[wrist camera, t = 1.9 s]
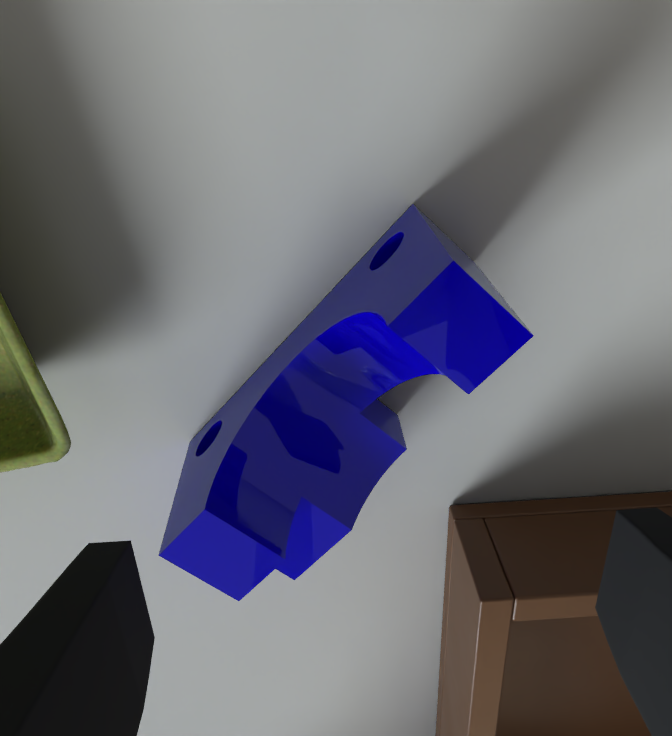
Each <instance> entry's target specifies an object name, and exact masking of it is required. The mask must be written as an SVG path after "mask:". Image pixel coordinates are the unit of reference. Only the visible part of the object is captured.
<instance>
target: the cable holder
mask: <svg viewBox="0 0 672 736" xmlns="http://www.w3.org/2000/svg"><path fill="white" fill-rule="evenodd" d="M532 337H533V334H532V333H531V332H530V331H529V329H528V328H527V327H526V326H525V324H524V323H523V322H522V321H521V319H520V318H519V317H518V316H517V315H516V313H515V312H514V311H513V310H512V308H511V307H510V306H509V305H508V303H507V302H506V301H505V300H504V298H503V297H502V296H501V295H500V293H499V292H498V291H497V290H496V288H495V287H494V286H493V285H492V283H491V282H490V281H489V280H488V278H487V277H486V276H485V275H484V273H483V272H482V271H481V270H480V268H479V267H478V266H477V265H476V263H475V262H474V261H473V260H471V259H470V258H469V257H468V256H467V255H466V254H465V253H464V252H463V251H462V250H461V249H460V248H459V247H458V246H457V245H456V244H455V243H454V242H453V241H452V240H451V239H450V238H448V237H447V236H446V235H445V234H444V233H443V232H442V231H441V230H440V229H439V228H438V227H437V226H436V225H435V224H434V223H433V222H432V221H431V220H430V219H429V218H428V217H427V216H425V215H424V214H423V213H422V212H421V211H420V210H419V209H418V208H417V207H416V206H415V205H414V204H412V205H411V206H410V207H409V208H408V209H407V210H406V212H405V213H404V214H403V215H402V216H401V217H400V218H399V219H398V220H397V221H396V222H395V223H394V224H393V225H392V226H391V228H390V229H389V230H388V231H387V232H386V233H385V234H384V235H383V236H382V237H381V238H380V239H379V240H378V241H377V242H376V244H375V245H374V246H373V247H372V248H371V249H370V250H369V251H368V252H367V253H366V254H365V255H364V256H363V257H362V259H361V260H360V261H359V262H358V263H357V264H356V265H355V266H354V267H353V268H352V269H351V270H350V271H349V272H348V273H347V275H346V276H345V277H344V278H343V279H342V280H341V281H340V282H339V283H338V284H337V285H336V286H335V287H334V288H333V289H332V291H331V292H330V293H329V294H328V295H327V296H326V297H325V298H324V299H323V300H322V301H321V302H320V303H319V304H318V306H317V307H316V308H315V309H314V310H313V311H312V312H311V313H310V314H309V315H308V316H307V317H306V318H305V319H304V320H303V322H302V323H301V324H300V325H299V326H298V327H297V328H296V329H295V330H294V331H293V332H292V333H291V334H290V335H289V336H288V338H287V339H286V340H285V341H284V342H283V343H282V344H281V345H280V346H279V347H278V348H277V349H276V350H275V351H274V352H273V354H272V355H271V356H270V357H269V358H268V359H267V360H266V361H265V362H264V363H263V364H262V365H261V366H260V367H259V369H258V370H257V371H256V372H255V373H254V374H253V375H252V376H251V377H250V378H249V379H248V380H247V381H246V382H245V383H244V385H243V386H242V387H241V388H240V389H239V390H238V391H237V392H236V393H235V394H234V395H233V396H232V397H231V398H230V399H229V401H228V402H227V403H226V404H225V405H224V406H223V407H222V408H221V409H220V410H219V411H218V412H217V413H216V414H215V416H214V417H213V418H212V419H211V420H210V421H209V422H208V423H207V424H206V425H205V426H204V427H203V428H202V429H201V430H200V432H199V433H198V434H197V435H196V436H195V437H194V438H193V439H192V440H191V441H190V443H189V447H188V451H187V454H186V458H185V462H184V465H183V469H182V472H181V476H180V480H179V483H178V487H177V491H176V494H175V498H174V501H173V505H172V509H171V512H170V516H169V520H168V523H167V527H166V530H165V534H164V538H163V541H162V545H161V549H160V552H159V556H161V557H162V558H164V559H166V560H168V561H169V562H171V563H173V564H175V565H176V566H178V567H180V568H182V569H183V570H185V571H187V572H189V573H190V574H192V575H194V576H196V577H197V578H199V579H201V580H203V581H204V582H206V583H208V584H210V585H211V586H213V587H215V588H217V589H218V590H220V591H222V592H224V593H225V594H227V595H229V596H231V597H232V598H234V599H236V600H238V601H240V600H241V599H242V598H243V597H244V596H245V595H246V594H248V593H249V592H250V591H251V590H252V589H253V588H254V587H255V586H256V585H258V584H259V583H260V582H261V581H262V580H263V579H264V578H265V577H266V576H268V575H269V574H270V573H271V572H272V571H273V570H274V569H277V570H279V571H280V572H282V573H283V574H285V575H287V576H288V577H290V578H292V579H293V580H295V579H296V578H297V577H299V576H300V575H301V574H302V573H303V572H304V571H305V570H307V569H308V568H309V567H310V566H311V565H312V564H313V563H315V562H316V561H317V560H318V559H319V558H320V557H321V556H323V555H324V554H325V553H326V552H327V551H328V550H329V549H330V548H332V547H333V546H334V545H335V544H336V543H337V542H338V541H340V540H341V539H342V538H343V537H344V536H345V535H346V534H348V533H349V532H350V531H351V530H352V528H353V525H354V523H355V520H356V518H357V516H358V514H359V512H360V510H361V508H362V506H363V504H364V503H365V501H366V499H367V497H368V496H369V494H370V493H371V491H372V489H373V488H374V486H375V485H376V484H377V482H378V481H379V479H380V478H381V477H382V475H383V474H384V473H385V472H386V470H387V469H388V468H389V467H390V466H391V465H392V463H393V462H394V461H395V460H396V459H397V458H398V457H399V456H400V455H401V454H402V453H403V452H404V451H405V450H406V449H407V448H406V445H405V441H404V437H403V433H402V429H401V426H400V422H399V418H398V415H397V414H395V413H394V412H393V411H392V410H390V409H389V408H388V407H387V406H385V405H384V404H383V403H381V402H380V401H379V400H378V399H377V398H378V397H380V396H381V395H382V394H384V393H385V392H387V391H388V390H390V389H392V388H393V387H395V386H397V385H398V384H401V383H403V382H405V381H407V380H409V379H412V378H415V377H418V376H422V375H428V374H441V375H446V376H447V377H448V378H449V379H451V380H452V381H453V382H454V383H455V384H456V385H458V386H459V387H460V388H461V389H462V390H464V391H465V392H466V393H467V394H470V393H471V392H472V391H473V390H474V389H475V388H476V387H477V386H478V385H480V384H481V383H482V382H483V381H484V380H485V379H486V378H487V377H488V376H490V375H491V374H492V373H493V372H494V371H495V370H496V369H497V368H498V367H500V366H501V365H502V364H503V363H504V362H505V361H506V360H507V359H508V358H509V357H511V356H512V355H513V354H514V353H515V352H516V351H517V350H518V349H519V348H521V347H522V346H523V345H524V344H525V343H526V342H527V341H528V340H529V339H531V338H532Z"/></svg>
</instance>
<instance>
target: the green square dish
mask: <svg viewBox="0 0 672 736" xmlns="http://www.w3.org/2000/svg"><path fill="white" fill-rule="evenodd" d="M70 445H71V441H70V437H69V434H68V431H67V428H66V426H65V424H64V422H63V419H62V417H61V415H60V413H59V411H58V409H57V407H56V405H55V403H54V401H53V399H52V396H51V394H50V392H49V390H48V388H47V386H46V384H45V382H44V380H43V378H42V376H41V374H40V372H39V370H38V368H37V366H36V364H35V362H34V360H33V358H32V356H31V354H30V352H29V350H28V348H27V346H26V344H25V342H24V340H23V337H22V335H21V333H20V331H19V329H18V327H17V325H16V323H15V321H14V319H13V317H12V315H11V313H10V311H9V309H8V307H7V305H6V303H5V301H4V299H3V297H2V295H1V293H0V472H6V471H10V470H15V469H21V468H27V467H31V466H36V465H40V464H43V463H48V462H56V461H58V460H60V459H61V458H62V457H63V456H64V455H65V454H66V453H68V451H69V449H70Z"/></svg>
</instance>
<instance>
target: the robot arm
mask: <svg viewBox="0 0 672 736" xmlns="http://www.w3.org/2000/svg"><path fill="white" fill-rule="evenodd" d="M595 609H596V612H597V614H598V617H599V620H600V622H601V625H602V628H603V631H604V633H605V636H606V639H607V642H608V644H609V647H610V649H611V652H612V655H613V657H614V660H615V662H616V665H617V667H618V670H619V672H620V675H621V677H622V679H623V681H624V683H625V685H626V687H627V689H628V691H629V693H630V695H631V697H632V699H633V700H634V702H635V704H636V706H637V708H638V710H639V712H640V714H641V716H642V718H643V720H644V722H645V724H646V726H647V728H648V730H649V731H650V733H651V735H652V736H672V517H670V516H669V515H667V514H666V513H664V512H663V511H661V510H660V509H658V508H657V507H656V508H640V509H624V510H616V515H615V519H614V524H613V528H612V533H611V537H610V542H609V547H608V551H607V556H606V560H605V565H604V569H603V574H602V579H601V583H600V588H599V592H598V597H597V602H596V606H595ZM153 645H154V633H153V629H152V625H151V621H150V617H149V613H148V609H147V605H146V601H145V597H144V593H143V589H142V585H141V581H140V577H139V572H138V568H137V564H136V560H135V556H134V552H133V548H132V544H131V541H118V542H102V543H89V544H88V545H87V546H86V547H85V548H84V549H83V550H82V551H81V552H80V553H79V555H78V556H77V557H76V558H75V559H74V560H73V561H72V562H71V564H70V565H69V566H68V567H67V568H66V569H65V571H64V572H63V573H62V574H61V575H60V576H59V578H58V579H57V580H56V581H55V582H54V584H53V585H52V586H51V587H50V588H49V589H48V591H47V592H46V593H45V594H44V595H43V596H42V598H41V599H40V600H39V601H38V602H37V603H36V604H35V606H34V607H33V608H32V609H31V610H30V611H29V613H28V614H27V615H26V616H25V617H24V618H23V620H22V621H21V622H20V623H19V624H18V625H17V626H16V628H15V629H14V630H13V631H12V632H11V633H10V634H9V635H8V636H7V638H6V639H5V640H4V641H3V642H2V643H1V644H0V736H137V732H138V728H139V724H140V721H141V717H142V713H143V709H144V703H145V697H146V691H147V685H148V679H149V672H150V665H151V658H152V652H153Z"/></svg>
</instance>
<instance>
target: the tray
mask: <svg viewBox="0 0 672 736" xmlns="http://www.w3.org/2000/svg"><path fill="white" fill-rule="evenodd" d="M656 507H657V508H658V509H660V510H661V511H663V512H664V513H666V514H667V515H669V516H670V517H672V491H669V492H654V493H638V494H622V495H606V496H590V497H574V498H558V499H542V500H526V501H510V502H494V503H478V504H462V505H451V506H450V507H449V521H448V538H447V554H446V571H445V588H444V604H443V621H442V638H441V654H440V671H439V688H438V704H437V721H436V736H652V735H651V733H650V731H649V730H648V728H647V726H646V724H645V722H644V720H643V718H642V716H641V714H640V712H639V710H638V708H637V706H636V704H635V702H634V700H633V699H632V697H631V695H630V693H629V691H628V689H627V687H626V685H625V683H624V681H623V679H622V677H621V675H620V672H619V670H618V667H617V665H616V662H615V660H614V657H613V655H612V652H611V649H610V647H609V644H608V642H607V639H606V636H605V633H604V631H603V628H602V625H601V622H600V620H599V617H598V614H597V612H596V609H595V606H596V602H597V597H598V592H599V588H600V583H601V579H602V574H603V569H604V565H605V560H606V556H607V551H608V547H609V542H610V537H611V533H612V528H613V524H614V519H615V515H616V510H624V509H640V508H656Z"/></svg>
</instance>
